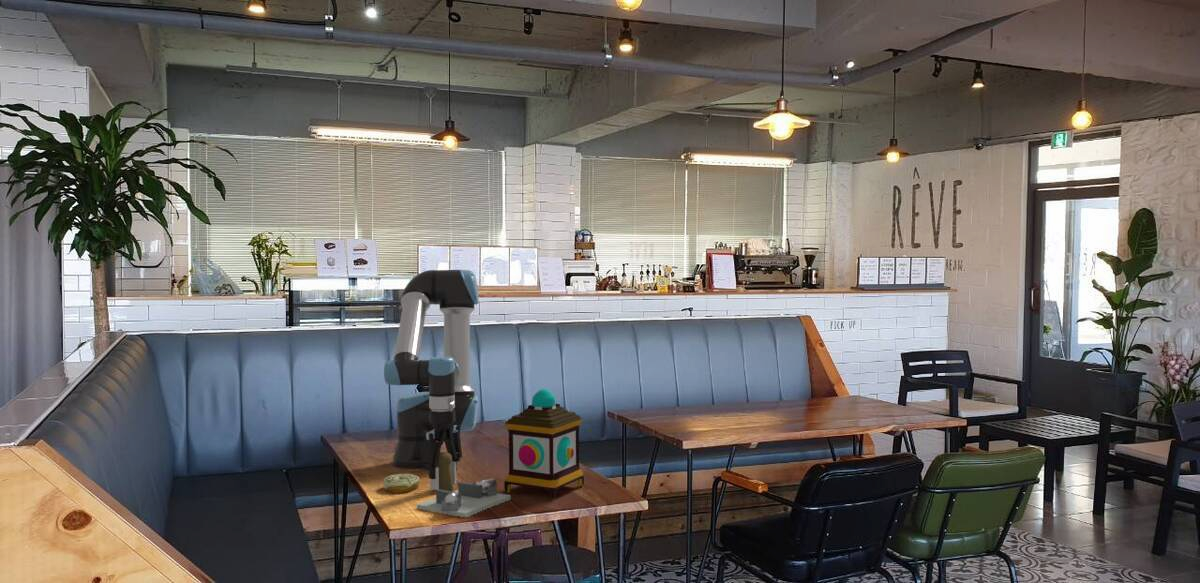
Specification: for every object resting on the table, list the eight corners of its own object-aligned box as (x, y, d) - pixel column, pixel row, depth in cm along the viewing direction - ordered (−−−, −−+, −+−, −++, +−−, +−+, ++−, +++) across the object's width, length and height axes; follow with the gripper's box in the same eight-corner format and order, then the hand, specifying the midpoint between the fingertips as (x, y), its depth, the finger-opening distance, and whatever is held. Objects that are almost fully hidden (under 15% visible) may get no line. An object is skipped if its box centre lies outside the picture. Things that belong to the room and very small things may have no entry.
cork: (436, 493, 258) (436, 456, 257) (430, 488, 263) (430, 452, 263) (456, 490, 260) (456, 453, 260) (450, 486, 266) (449, 449, 265)
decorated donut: (379, 494, 258) (379, 481, 258) (388, 484, 269) (387, 472, 269) (415, 494, 258) (414, 481, 258) (422, 484, 269) (422, 471, 269)
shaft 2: (480, 498, 248) (480, 483, 248) (472, 495, 252) (471, 480, 251) (498, 494, 252) (498, 479, 252) (489, 491, 255) (489, 476, 255)
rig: (417, 508, 243) (416, 491, 242) (463, 491, 260) (463, 475, 259) (465, 517, 234) (465, 500, 234) (510, 499, 251) (510, 483, 251)
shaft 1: (446, 505, 241) (446, 490, 241) (462, 505, 241) (462, 490, 241) (441, 510, 236) (441, 495, 236) (457, 511, 236) (457, 495, 236)
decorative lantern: (555, 502, 248) (554, 396, 246) (497, 493, 257) (496, 391, 256) (590, 485, 265) (589, 386, 264) (535, 477, 275) (534, 382, 274)
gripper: (428, 416, 250) (430, 496, 251) (473, 405, 267) (474, 480, 268) (409, 413, 254) (410, 492, 255) (454, 403, 271) (455, 477, 272)
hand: (443, 486), depth 262 cm, fingers open, 7 cm apart
